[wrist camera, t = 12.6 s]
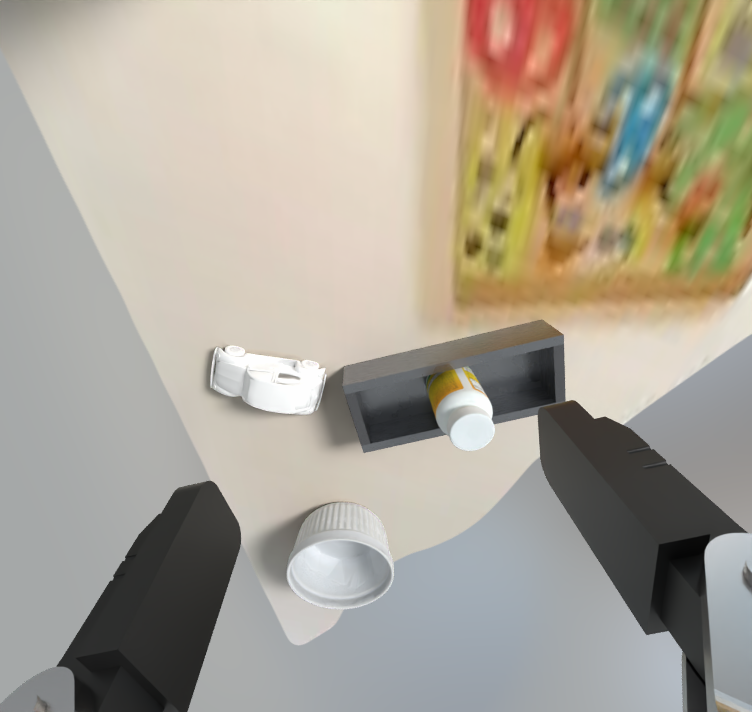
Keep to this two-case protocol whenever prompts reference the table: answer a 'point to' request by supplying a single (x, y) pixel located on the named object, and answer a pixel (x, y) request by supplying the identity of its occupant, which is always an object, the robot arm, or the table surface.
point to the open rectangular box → (480, 353)
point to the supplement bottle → (461, 408)
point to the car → (268, 381)
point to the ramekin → (340, 557)
